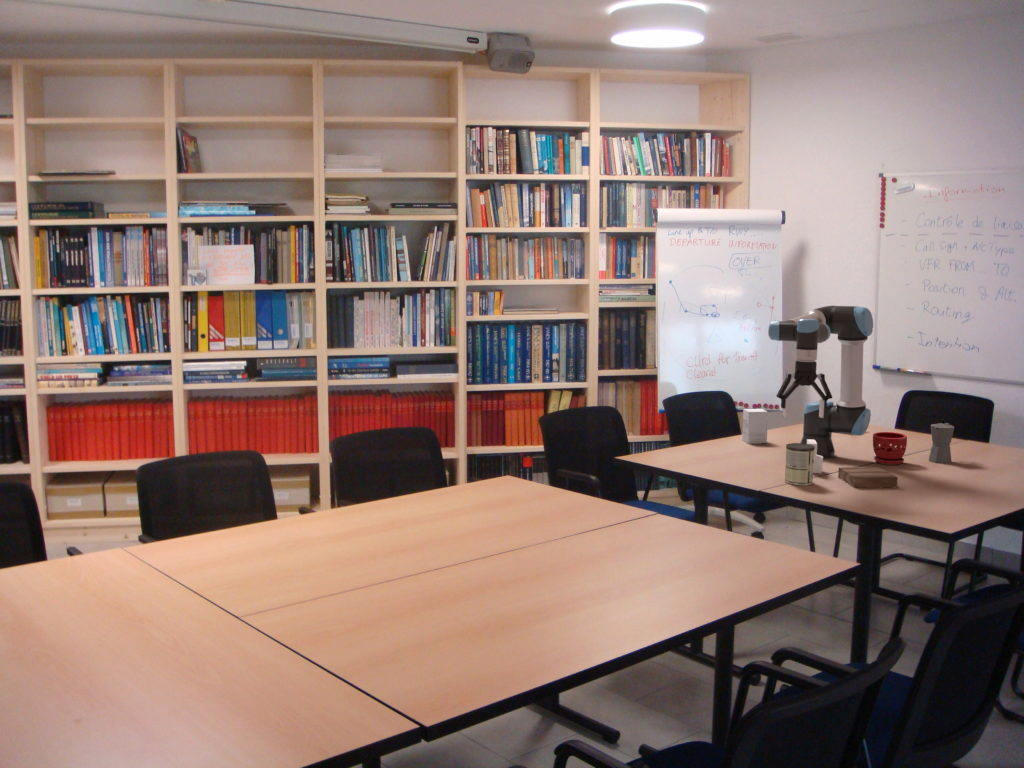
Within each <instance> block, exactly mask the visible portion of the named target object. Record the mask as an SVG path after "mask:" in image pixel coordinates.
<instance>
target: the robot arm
mask: <svg viewBox="0 0 1024 768" xmlns="http://www.w3.org/2000/svg"><path fill="white" fill-rule="evenodd" d="M873 328H874V319H873V314H872V312H871V310H870V309H869V308H868V307H864V306H858V305H854V306H853V305H827V306H822V307H818V308H817V307H816V308H815V309H811V310H808V311H807V312H806V313H805V314H803V315H800V316H797V317H794V318H790V319H787V320H784V321H783V320H782V321H780V320H778V321H777V320H772V321H771V322H770V323H769V325H768V330H767V331H768V333H767V334H768V337H769V339H770V340H772V341H777V342H778V341H779V342H796V346H795V347H796V348H795V349H796V351H795V363H794V364H795V365H794V367H795V368H794V373H789V372H787V373H786V374H785V379H784V381H783V382H782V384H781V386H780V387H779V388H780V389H779V390H778V391H777V393H776V395H775V396H776V398H778V399H780V401H781V403H780V407H781V409H783V410H782V412H783V413H782V417H784V418H786V419H787V418H788V409H789V408H788V407H789V400H788V398H789V397H790V396H791V394H793V392H794V391H795V390H796V389H797V388H799V386H801V387H804V386H808V387H810V386H811V387H812V388H813V389H814V391H816V393H817V394H818V395H819V396H820V398H821V399H819V401H817V400H816V401H811V402H807V403H806V404H805V405H804V412H803V429H802V430H803V431H802V438H801V440H800V443H803V444H807V439H813V440H815V441H816V442H817V455H820V456H823V459H830V458H835V457H836V450H835V446H834V443H833V439H832V433H833V434H839V435H840V434H841V435H848V436H857V437H858V436H863V435H865V433H866V432H867V430H868V428H869V426H870V425H869V424H870V421H871V416H872V413H871V409H869V408H867V403H866V401H864V400H863V379H864V377H863V374H864V373H863V371H864V344H865V342H867V341H868V338H869V337H870V336H871V335H872V334H873ZM831 334H833V335H837V341H839V342H840V344H841V348H840V349H841V350H840V389H839V390H840V397H839V399H838V401H837V402H836V405H835V404H834V401H832V400H831V399H833V395H832V393H831V390H830V388H829V386H828V383H827V382H826V376H825V374H824V373H817V360H818V344H821V343H825V342H826V341H828V340H829V339H830V337H831ZM793 379H794V381H793V382H792V384H791V385H790V386H789V384H790V383H791V380H793ZM816 379H818V380H819V382H820V384H821V387H822V389H823V390H822V389H821V387H819V385H818V384H817V383H816ZM788 386H789V387H788ZM786 389H787V390H786ZM823 391H824V392H823ZM829 399H830V400H829Z"/></svg>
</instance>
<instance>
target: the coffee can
mask: <svg viewBox="0 0 1024 768" xmlns="http://www.w3.org/2000/svg"><path fill="white" fill-rule="evenodd" d="M785 446H786V449H785V450H786V451H785V471H784V472H785V473H784V483H786V482H787V483H786V484H788V483H789V484H788V485H792V484H794V485H793V486H811V485H813V484H814V482H813V481H814V480H813V479H814V474H813V466H814V449H815V446H813V445H810V444H803V443H801V442H794V443H787V444H785Z"/></svg>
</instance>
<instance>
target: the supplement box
mask: <svg viewBox="0 0 1024 768" xmlns="http://www.w3.org/2000/svg"><path fill="white" fill-rule="evenodd" d="M768 413H769V412H768V411H767V410H765V409H763V408H743V412H742V434H741V435H742V437H741V441H743V442H744V443H746V444H747V445H748V444H749V445H753V444H754V445H755V444H756V445H757V444H758V445H760V444H761V443H766V444H767V443H768V442H767V441H768V423H769V422H768V418H769V414H768Z"/></svg>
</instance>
